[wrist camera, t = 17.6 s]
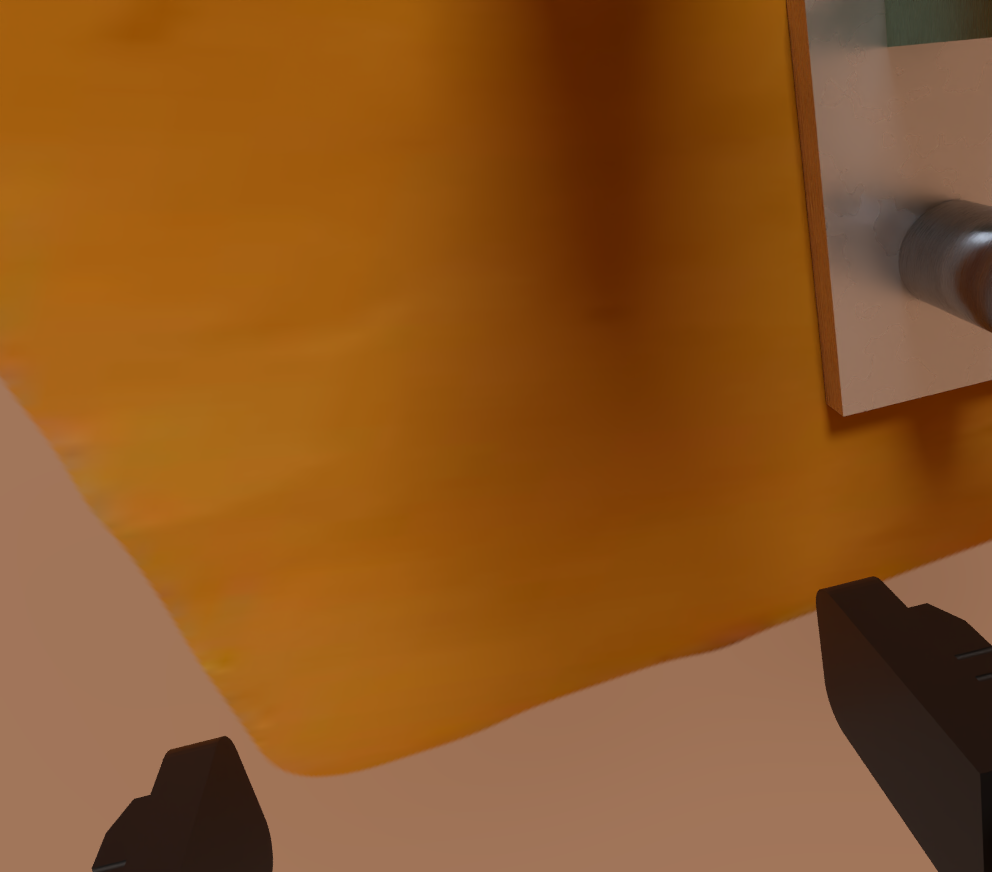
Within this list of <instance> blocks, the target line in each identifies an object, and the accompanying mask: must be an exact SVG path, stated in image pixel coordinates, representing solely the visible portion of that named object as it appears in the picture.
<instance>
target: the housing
mask: <svg viewBox="0 0 992 872" xmlns="http://www.w3.org/2000/svg"><path fill="white" fill-rule="evenodd" d="M898 264H899V273H900V276H901V279H902V282H903V284H904V286H905V287H906V288H907V290H908V291H909V292H910V293H911V294H912V295H913V296H915V297H916V298H918V299H919V300H921V301H923V302H926V303H928V304H930V305H932V306H934V307H937V308H939V309H941V310H943V311H945V312H947V313H950V314H952V315H954V316H956V317H958V318H961V319H963V320H965V321H967V322H969V323H971V324H974V325H976V326H978V327H980V328H982V329H985V330H987V331H989V332H991V333H992V206H988V205H984V204H979V203H975V202H971V201H966V200H954V201H948V202H944V203H941V204H939V205H936V206H934V207H932V208H931V209H929V210H928V211H926V212H925V213H924V214H922V215H921V216H920V217H919V218H918V219H917V220H916V221H915V222H914V223H913V224H912V226H911V227H910V228H909V230H908V232H907V233H906V235H905V237H904V239H903V242H902V244H901V247H900V252H899V260H898Z"/></svg>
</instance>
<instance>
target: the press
mask: <svg viewBox="0 0 992 872" xmlns="http://www.w3.org/2000/svg"><path fill="white" fill-rule="evenodd" d="M786 3H787V13H788V23H789V33H790V43H791V53H792V63H793V73H794V83H795V93H796V103H797V113H798V123H799V133H800V143H801V153H802V163H803V173H804V183H805V193H806V203H807V213H808V223H809V233H810V243H811V253H812V263H813V273H814V283H815V293H816V303H817V313H818V323H819V333H820V343H821V353H822V363H823V373H824V383H825V393H826V403H827V405H828V406H830V407H831V408H832V409H834V410H835V411H836V412H838V413H839V414H841V415H842V416H843V417H844V416H848V415H852V414H856V413H860V412H864V411H868V410H872V409H876V408H880V407H884V406H888V405H892V404H896V403H900V402H904V401H908V400H912V399H916V398H920V397H924V396H928V395H933V394H937V393H941V392H945V391H949V390H953V389H957V388H961V387H965V386H969V385H973V384H977V383H981V382H985V381H989V380H992V333H991V332H989V331H987V330H985V329H982V328H980V327H978V326H976V325H974V324H971V323H969V322H967V321H965V320H963V319H961V318H958V317H956V316H954V315H952V314H950V313H947V312H945V311H943V310H941V309H939V308H937V307H934V306H932V305H930V304H928V303H926V302H923V301H921V300H919V299H918V298H916V297H915V296H913V295H912V294H911V293H910V292H909V291H908V290H907V288H906V287H905V286H904V284H903V282H902V279H901V276H900V273H899V264H898V260H899V252H900V247H901V244H902V242H903V239H904V237H905V235H906V233H907V232H908V230H909V228H910V227H911V226H912V224H913V223H914V222H915V221H916V220H917V219H918V218H919V217H920V216H921V215H922V214H924V213H925V212H926V211H928V210H929V209H931V208H932V207H934V206H936V205H939V204H941V203H944V202H948V201H954V200H966V201H971V202H975V203H979V204H984V205H988V206H992V0H786Z"/></svg>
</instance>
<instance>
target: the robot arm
mask: <svg viewBox="0 0 992 872" xmlns="http://www.w3.org/2000/svg"><path fill="white" fill-rule="evenodd" d="M816 608H817V617H818V626H819V634H820V643H821V652H822V660H823V669H824V679H825V686H826V691H827V695H828V698H829V702H830V705H831V708H832V710H833V713H834V715H835V718H836V720H837V722H838V724H839V726H840V728H841V730H842V731H843V733H844V734H845V736H846V737H847V739H848V740H849V742H850V743H851V745H852V746H853V748H854V749H855V750H856V752H857V753H858V755H859V756H860V758H861V759H862V761H863V762H864V764H865V765H866V766H867V768H868V769H869V771H870V772H871V774H872V775H873V777H874V778H875V780H876V781H877V782H878V784H879V786H880V787H881V789H882V790H883V791H884V793H885V794H886V796H887V797H888V799H889V800H890V802H891V803H892V804H893V806H894V808H895V809H896V810H897V812H898V813H899V815H900V816H901V818H902V819H903V821H904V822H905V824H906V825H907V827H908V828H909V830H910V831H911V832H912V834H913V835H914V837H915V838H916V840H917V841H918V843H919V844H920V846H921V847H922V849H923V850H924V851H925V853H926V854H927V856H928V857H929V859H930V860H931V862H932V863H933V865H934V866H935V868H936V869H937V870H938V872H992V645H991V644H989V643H988V642H987V641H986V640H985V639H984V638H983V637H982V636H981V635H980V634H979V633H978V632H977V631H976V630H975V629H974V628H973V627H971V626H970V625H969V624H968V623H967V622H966V621H965V620H962V619H960V618H958V617H956V616H954V615H952V614H950V613H947V612H945V611H943V610H941V609H939V608H936V607H934V606H932V605H930V604H928V603H926V604H922V605H918V606H914V607H910V608H907V607H906V605H905V604H904V603H903V602H902V601H901V600H900V599H899V598H898V597H897V596H895V594H894V593H893V592H892V591H891V590H890V589H889V588H888V587H887V586H886V585H885V584H884V583H883V582H882V581H881V580H880V579H879V578H877V577H874V576H873V577H869V578H865V579H861V580H856V581H852V582H848V583H844V584H840V585H836V586H832V587H828V588H824V589H820V590H819V591H818V592H817V596H816ZM272 869H273V853H272V843H271V837H270V833H269V829H268V825H267V822H266V819H265V817H264V815H263V813H262V810H261V807H260V805H259V803H258V800H257V798H256V795H255V793H254V790H253V788H252V786H251V783H250V781H249V779H248V776H247V774H246V771H245V769H244V766H243V764H242V762H241V759H240V757H239V755H238V752H237V750H236V748H235V746H234V744H233V742H232V741H231V740H230V739H229V738H228V737H226V736H223V737H219V738H215V739H211V740H207V741H203V742H199V743H195V744H191V745H187V746H183V747H179V748H175V749H171V750H169V751H168V752H167V753H166V755H165V757H164V759H163V762H162V764H161V767H160V770H159V773H158V775H157V779H156V781H155V784H154V787H153V789H152V792H151V795H148V796H144V797H141V798H136V799H134V800H133V801H132V802H131V803H130V804H129V806H128V807H127V808H126V809H125V811H124V812H123V813H122V814H121V816H120V817H119V818H118V819H117V820H116V822H115V823H114V824H113V825H112V827H111V828H110V829H109V830H108V831H107V833H106V835H105V837H104V839H103V842H102V845H101V847H100V849H99V852H98V854H97V857H96V859H95V862H94V864H93V867H92V871H93V872H272Z"/></svg>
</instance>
